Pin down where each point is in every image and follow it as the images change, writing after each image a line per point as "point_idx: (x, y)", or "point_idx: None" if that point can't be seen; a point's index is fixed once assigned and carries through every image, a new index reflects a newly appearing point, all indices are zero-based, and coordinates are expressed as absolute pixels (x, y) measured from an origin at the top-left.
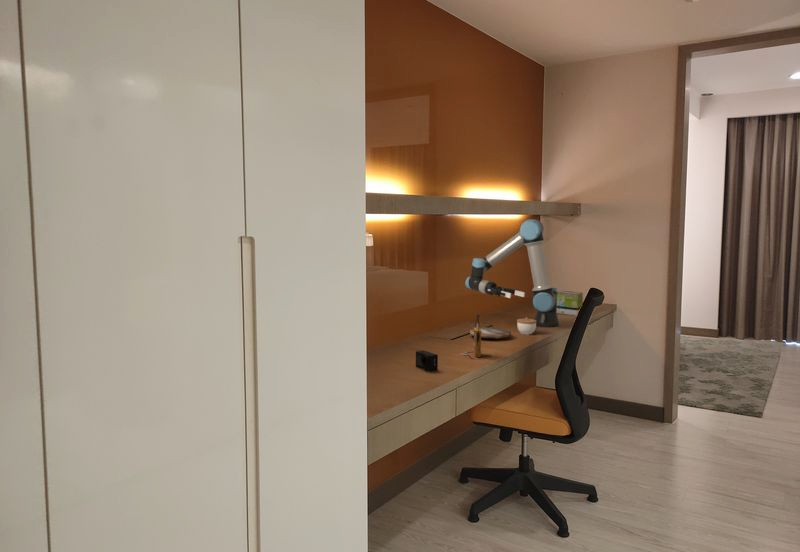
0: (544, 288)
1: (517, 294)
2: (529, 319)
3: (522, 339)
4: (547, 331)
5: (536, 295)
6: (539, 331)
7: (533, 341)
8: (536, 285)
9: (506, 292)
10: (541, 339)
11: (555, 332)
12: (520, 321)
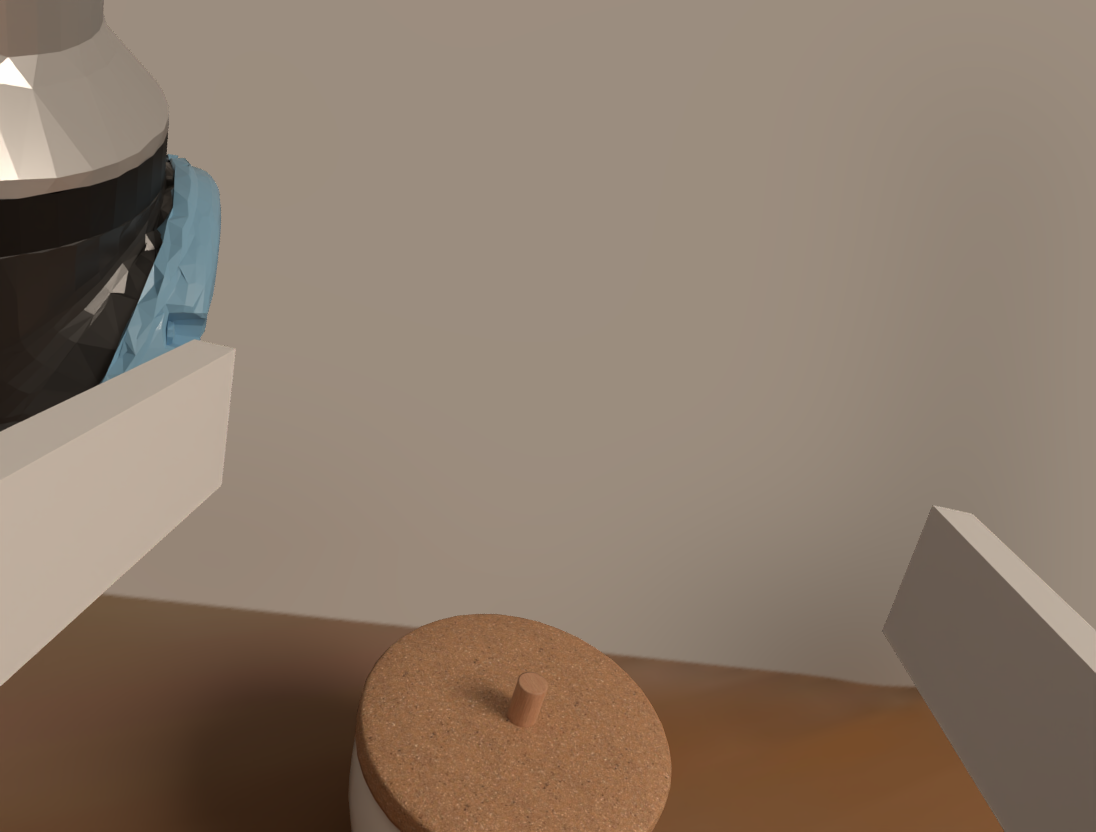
0: (143, 67)
1: (84, 571)
2: (458, 692)
3: (799, 799)
4: (147, 685)
5: (209, 279)
6: (194, 765)
7: (772, 693)
8: (53, 14)
9: (1054, 595)
10: (638, 657)
11: (180, 609)
12: (670, 774)
